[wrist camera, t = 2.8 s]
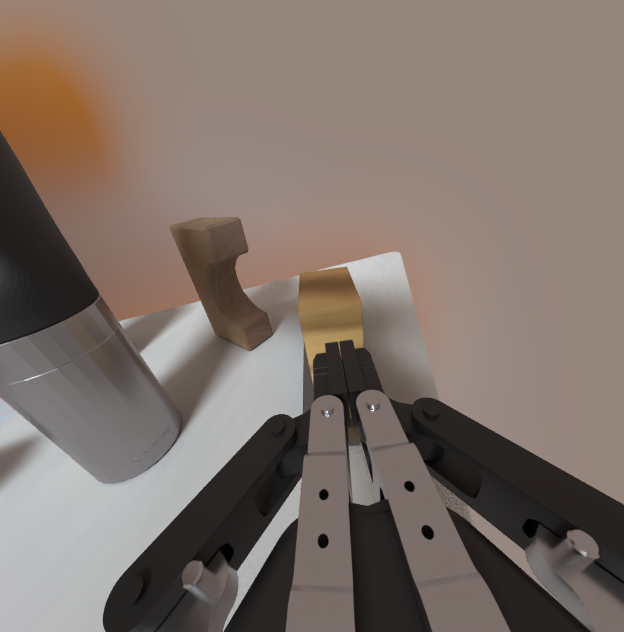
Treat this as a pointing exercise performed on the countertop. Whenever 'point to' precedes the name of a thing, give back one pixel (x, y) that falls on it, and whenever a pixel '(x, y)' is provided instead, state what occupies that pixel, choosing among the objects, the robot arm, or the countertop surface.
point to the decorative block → (221, 278)
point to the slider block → (329, 311)
